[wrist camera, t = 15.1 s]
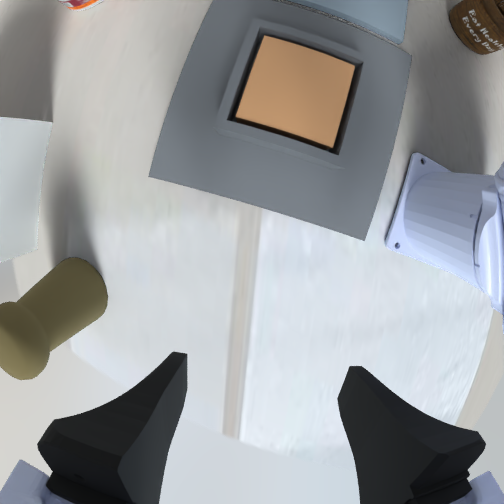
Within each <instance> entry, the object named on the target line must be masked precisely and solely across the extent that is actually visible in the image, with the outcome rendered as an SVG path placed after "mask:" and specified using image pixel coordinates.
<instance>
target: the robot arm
mask: <svg viewBox="0 0 504 504" xmlns="http://www.w3.org/2000/svg"><path fill="white" fill-rule="evenodd" d="M421 159H423V164H421ZM397 242H398V246H397V247H396V248H395V244H396V243H397ZM385 246H386V247H387V248H388V249H390V250H392V251H395V252H397V253H400V254H403V255H406V256H408V257H411V258H414V259H416V260H419V261H422V262H424V263H427V264H429V265H432V266H434V267H437V268H440V269H442V270H445V271H447V272H450V273H452V274H454V275H456V276H458V277H459V278H461V279H463V280H465V281H466V282H468V283H470V284H471V285H473V286H474V287H476V288H478V289H479V290H481V291H483V292H484V293H486V294H487V295H488V296H489V297H490V299H491V307H492V308H494V309H495V310H497V311H498V312H499V313H501V314H502V315H503V324H502V326H503V333H504V162H503V163H502V165H501V167H500V168H499V170H498V171H497V172H496V173H495V176H493V175H482V174H469V173H453V172H451V171H450V170H448V169H446V168H445V167H443V166H441V165H440V164H438V163H436V162H435V161H433V160H431V159H429V158H428V157H426V156H424V155H422V154H420V153H418V152H417V153H413V154H412V156H411V160H410V164H409V167H408V171H407V175H406V178H405V182H404V185H403V189H402V192H401V196H400V199H399V202H398V205H397V208H396V212H395V215H394V218H393V221H392V224H391V227H390V230H389V232H388V235H387V238H386V241H385ZM186 392H187V354H185V353H179V352H172V353H171V354H170V355H169V356H168V357H167V358H166V359H165V360H164V361H163V362H162V363H161V364H160V365H159V366H158V367H157V368H156V369H155V370H154V371H153V372H151V373H150V374H149V375H148V376H147V377H146V378H145V379H143V380H142V381H141V382H139V383H138V384H137V385H136V386H134V387H133V388H132V389H130V390H129V391H127V392H126V393H124V394H122V395H121V396H119V397H118V398H116V399H114V400H112V401H110V402H108V403H106V404H104V405H102V406H100V407H97V408H95V409H93V410H90V411H87V412H84V413H81V414H77V415H74V416H70V417H65V418H61V419H55V420H54V421H53V422H52V423H51V424H50V426H49V427H48V428H47V430H46V431H45V433H44V434H43V436H42V438H41V439H40V441H39V442H38V444H37V445H38V450H39V451H40V454H41V455H42V457H43V458H44V460H45V461H46V463H47V464H48V465H49V467H50V468H51V470H52V471H53V472H52V474H51V476H50V477H49V476H48V475H46V474H45V473H44V472H42V471H40V470H38V469H37V468H35V467H33V466H31V465H30V464H28V463H26V462H25V461H23V460H19V462H18V463H17V465H16V466H15V468H14V470H13V471H12V473H11V475H10V476H9V478H8V480H7V481H6V483H5V485H4V487H3V488H2V490H1V491H0V504H159V499H160V493H161V486H162V481H163V475H164V470H165V465H166V460H167V455H168V451H169V448H170V444H171V441H172V438H173V436H174V433H175V430H176V427H177V424H178V421H179V418H180V416H181V413H182V410H183V407H184V402H185V397H186ZM337 399H338V405H339V411H340V416H341V419H342V422H343V426H344V429H345V432H346V435H347V437H348V440H349V443H350V446H351V449H352V452H353V456H354V460H355V465H356V471H357V477H358V485H359V494H360V504H504V494H503V492H502V491H501V489H500V487H499V485H498V484H497V482H496V480H495V479H494V477H493V476H492V474H491V472H490V471H487V472H485V473H484V474H482V475H480V476H478V477H476V478H474V479H473V480H471V481H470V482H468V480H467V477H469V475H470V474H469V472H468V469H469V468H470V466H471V465H472V464H473V463H474V462H475V461H476V460H477V459H478V457H479V456H480V455H481V454H482V452H483V451H484V449H485V445H486V443H485V441H484V440H483V439H482V437H481V435H480V434H479V433H478V432H477V431H472V430H468V429H463V428H459V427H456V426H453V425H450V424H447V423H445V422H442V421H440V420H437V419H435V418H433V417H431V416H429V415H427V414H425V413H423V412H421V411H420V410H418V409H416V408H415V407H413V406H411V405H410V404H408V403H407V402H406V401H404V400H403V399H401V398H400V397H399V396H397V395H396V394H395V393H393V392H392V391H391V390H390V389H388V388H387V387H386V386H385V385H384V384H383V383H381V382H380V381H379V380H378V379H377V378H376V377H374V376H373V375H372V374H371V373H370V372H368V371H367V370H366V369H365V368H363V367H362V366H350V367H349V370H348V372H347V375H346V378H345V380H344V383H343V386H342V388H341V391H340V393H339V396H338V398H337Z"/></svg>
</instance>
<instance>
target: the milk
mask: <svg viewBox="0 0 504 504" xmlns="http://www.w3.org/2000/svg"><path fill="white" fill-rule="evenodd" d="M52 124H53V122H46V121H38V120H29V119H19V118H8V117H0V263H2V262H4V261H7V260H9V259H12V258H15V257H18V256H21V255H24V254H26V253H29V252H32V251H35V250H37V244H38V219H39V205H40V195H41V186H42V178H43V171H44V164H45V158H46V153H47V147H48V142H49V137H50V133H51V128H52Z"/></svg>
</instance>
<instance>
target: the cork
mask: <svg viewBox="0 0 504 504" xmlns="http://www.w3.org/2000/svg"><path fill="white" fill-rule="evenodd" d="M107 300H108V295H107V290H106V286H105V284H104V281H103V279H102V277H101V275H100V274H99V273H98V272H97V270H96V269H95V268H94V267H93V266H92V265H91V264H89V263H88V262H87V261H85V260H82V259H80V258H68V259H66V260H63V261H62V262H61V263H59V264H58V265H57V266H56V267H55V268H54V269H52V270H51V271H50V272H49V273H48V274H47V275H46V276H44V277H43V278H42V279H41V280H40V281H39V282H38V283H37V284H35V285H34V286H33V287H32V288H31V289H30V290H29V291H28V292H27V293H26V294H25V295H24V296H22V297H21V298H20V299H19V300H18V301H17V302H5V303H2V304H0V367H1V368H2V369H3V370H4V371H5V372H7V373H8V374H9V375H11V376H12V377H14V378H17V379H19V380H27V379H33V378H35V377H37V376H38V375H39V374H40V373H41V372H42V370H43V369H44V368H45V367H46V365H47V362H48V359H49V355H50V351H52V350H53V349H55V348H56V347H57V346H59V345H60V344H62V343H63V342H65V341H66V340H68V339H69V338H71V337H72V336H73V335H75V334H76V333H78V332H79V331H81V330H82V329H84V328H85V327H87V326H88V325H90V324H91V323H92V322H94V321H95V320H97V319H98V318H99V317H100V316H102V315H103V314H104V312H105V309H106V307H107Z"/></svg>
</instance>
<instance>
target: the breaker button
mask: <svg viewBox="0 0 504 504" xmlns="http://www.w3.org/2000/svg"><path fill="white" fill-rule="evenodd" d="M354 69H355V66H354V65H352V64H349V63H347V62H344V61H342V60H339V59H337V58H334V57H332V56H329V55H326V54H324V53H321V52H318V51H315V50H312V49H309V48H306V47H303V46H300V45H297V44H294V43H290V42H287V41H283V40H280V39H276V38H272V37H269V36H265V35H264V38H263V40H262V43H261V46H260V48H259V51H258V54H257V56H256V59H255V62H254V65H253V67H252V70H251V73H250V76H249V79H248V81H247V84H246V87H245V90H244V93H243V96H242V99H241V102H240V105H239V108H238V111H237V114H236V120H237V123H240V124H243V125H247V126H251V127H254V128H258V129H261V130H264V131H268V132H271V133H274V134H278V135H281V136H284V137H287V138H290V139H293V140H296V141H299V142H302V143H305V144H308V145H311V146H314V147H316V148H319V149H322V150H327V149H331V148H333V145H334V142H335V138H336V135H337V131H338V128H339V124H340V121H341V117H342V114H343V110H344V106H345V103H346V99H347V95H348V92H349V88H350V84H351V80H352V76H353V72H354Z"/></svg>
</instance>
